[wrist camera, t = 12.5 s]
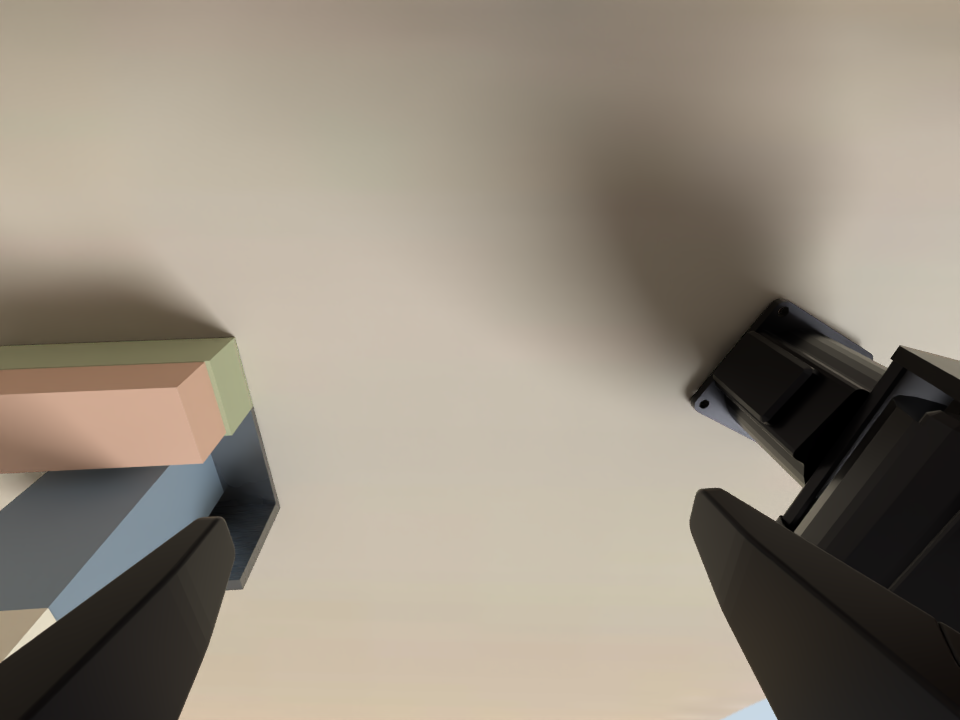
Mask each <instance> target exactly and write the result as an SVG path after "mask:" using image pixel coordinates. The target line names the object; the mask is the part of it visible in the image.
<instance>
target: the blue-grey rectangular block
mask: <svg viewBox="0 0 960 720" xmlns="http://www.w3.org/2000/svg"><path fill="white" fill-rule="evenodd" d="M223 493H224V491H223V488H222V485H221V482H220V479H219V476H218V474H217V471H216V468H215V465H214V462H213V459H212V456H211V454H210V455H209V456H208V458H207V459H206V460H205V462H204V463H203V464H184V465H163V466H143V467H123V468H103V469H83V470H63V471H48V472H47V473H45V474H44V475H43V476H42V477H41V478H39V479H38V480H37V481H36V482H35V483H33V484H32V485H31V486H30V487H29V488H27V489H26V490H25V491H24V492H22V493H21V494H20V495H19V496H18V497H16V498H15V499H14V500H13V501H12V502H10V503H9V504H8V505H7V506H6V507H4V508H3V509H2V510H1V511H0V662H2V661H3V660H5V659H6V658H7V657H9V656H10V655H11V654H13V653H14V652H16V651H17V650H18V649H20V648H21V647H22V646H24V645H25V644H26V643H28V642H29V641H31V640H32V639H33V638H35V637H36V636H37V635H39V634H40V633H41V632H43V631H44V630H46V629H47V628H48V627H50V626H51V625H52V624H54V623H55V622H57V621H58V620H59V619H61V618H62V617H63V616H65V615H66V614H67V613H69V612H70V611H72V610H73V609H74V608H76V607H77V606H78V605H80V604H81V603H82V602H84V601H85V600H87V599H88V598H89V597H91V596H92V595H93V594H95V593H96V592H97V591H99V590H100V589H102V588H103V587H104V586H106V585H107V584H108V583H110V582H111V581H112V580H114V579H115V578H117V577H118V576H119V575H121V574H122V573H123V572H125V571H126V570H127V569H129V568H130V567H132V566H133V565H134V564H136V563H137V562H138V561H140V560H141V559H142V558H144V557H145V556H147V555H148V554H149V553H151V552H152V551H153V550H155V549H156V548H158V547H159V546H160V545H162V544H163V543H164V542H166V541H167V540H168V539H170V538H171V537H173V536H174V535H175V534H177V533H178V532H179V531H181V530H182V529H183V528H185V527H186V526H188V525H189V524H190V523H192V522H193V521H194V520H196V519H198V518H201V517H208V516H209V515H210V513H211V512H212V510H213V508H214V507H215V505H216V504H217V502H218V501H219V499H220V497H221V496H222V494H223Z"/></svg>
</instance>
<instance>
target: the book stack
mask: <svg viewBox="0 0 960 720" xmlns="http://www.w3.org/2000/svg"><path fill="white" fill-rule="evenodd" d="M252 407H253V404H252V401H251V397H250V393H249V389H248V386H247V382H246V378H245V374H244V371H243V367H242V363H241V359H240V356H239V352H238V348H237V344H236V341H235V337H231V338H204V339H177V340H150V341H123V342H96V343H69V344H42V345H15V346H0V474H3V473H23V472H43V471H63V470H83V469H103V468H123V467H143V466H163V465H184V464H203V463H204V462H205V460H206V459H207V458H208V456H209V455H210V454H211V452H212V451H213V450H214V448H215V447H216V446H217V444H218V443H219V442H220V440H221V439H222V438H223V436H230V435H233V433H234V432H235V430H236V429H237V428H238V426H239V425H240V424H241V422H242V421H243V420H244V418H245V417H246V415H247V414H248V413H249V411H250V410H251V409H252Z"/></svg>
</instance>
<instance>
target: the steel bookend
mask: <svg viewBox="0 0 960 720" xmlns="http://www.w3.org/2000/svg"><path fill="white" fill-rule="evenodd" d="M211 456H212V459H213V462H214V465H215V468H216V471H217V474H218V476H219V479H220V482H221V485H222V488H223V491H224V493H223V494H222V496H221V497H220V499H219V501H218V502H217V504H216V505H215V507H214V508H213V510H212V512H211V513H210V515H209V516H208V517H216V516H219V517H222V518H224V519H225V521H226V523H227V526H228V529H229V532H230V535H231V538H232V541H233V544H234V547H235V560H234V564H233V567H232V570H231V574H230V577H229V580H228V584H227V587H226V590H240V589H243V588H244V586H245V584H246V582H247V579H248V577H249V575H250V573H251V571H252V568H253V566H254V564H255V562H256V560H257V558H258V555H259V553H260V551H261V549H262V547H263V544H264V542H265V540H266V538H267V536H268V533H269V531H270V529H271V527H272V525H273V522H274V520H275V518H276V516H277V514H278V512H279V509H280V506H279V502H278V498H277V494H276V491H275V487H274V483H273V479H272V476H271V472H270V468H269V464H268V461H267V457H266V453H265V449H264V446H263V442H262V438H261V434H260V431H259V427H258V423H257V419H256V416H255V412H254V408H253V407H252V409H251V410H250V411H249V413H248V414H247V415H246V417H245V418H244V420H243V421H242V422H241V424H240V425H239V426H238V428H237V429H236V430H235V432H234V433H233V435H230V436H223V438H222V439H221V440H220V442H219V443H218V444H217V446H216V447H215V448H214V450H213V451H212V452H211Z"/></svg>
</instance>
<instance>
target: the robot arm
mask: <svg viewBox="0 0 960 720" xmlns="http://www.w3.org/2000/svg"><path fill="white" fill-rule="evenodd" d="M782 307H783V310H782V312H780V313H779V314H778V311H779V309H780V308H782ZM890 359H892V360H893V361H892V363H891V364H890V366H889V367H888V368H886V367H885V366H883V365H881V364H879V363H877V362H875V361H873V355H872V354H871V353H869V352H868V351H866V350H865V349H863V348H861V347H860V346H858V345H857V344H855V343H854V342H852V341H851V340H849V339H847V338H846V337H844V336H843V335H841V334H840V333H838V332H837V331H835V330H833V329H832V328H830V327H829V326H827V325H826V324H824V323H823V322H821V321H819V320H818V319H816V318H815V317H813V316H812V315H810V314H808V313H807V312H805V311H804V310H802V309H801V308H799V307H798V306H796V305H794V304H793V303H791V302H789V301H787V300H785V299H777V300H775V301H773V302H772V303H771V304H770V305H769V306H768V307H767V309H766V310H765V311H764V312H763V313H762V315H761V316H760V317H759V318H758V319H757V320H756V322H755V323H754V324H753V325H752V326H751V328H750V329H749V330H748V331H747V332H746V334H745V335H744V336H743V337H742V338H741V340H740V341H739V342H738V343H737V344H736V346H735V347H734V348H733V349H732V350H731V351H730V353H729V354H728V355H727V356H726V357H725V359H724V360H723V361H722V362H721V363H720V365H719V366H718V367H717V368H716V369H715V371H714V372H713V373H712V374H711V375H710V377H709V378H708V379H707V380H706V381H705V383H704V384H703V385H702V386H701V387H700V388H699V390H698V391H697V392H696V393H695V394H694V396H693V397H692V399H691V405H692V407H693V408H694V409H695V410H696V411H697V412H699V413H701V414H703V415H705V416H707V417H709V418H711V419H713V420H715V421H716V422H718V423H720V424H722V425H724V426H726V427H728V428H730V429H732V430H734V431H736V432H738V433H740V434H742V435H744V436H746V437H747V438H749V439H751V440H753V441H755V442H757V443H758V444H759V445H760V446H761V447H762V448H763V449H764V450H765V451H766V452H767V453H768V454H769V455H770V456H771V457H772V458H773V459H774V460H775V461H776V462H777V463H778V464H779V465H780V466H781V467H782V468H783V469H784V470H785V471H786V472H787V473H788V474H789V475H790V476H791V477H792V478H793V479H794V480H795V481H797V482H798V483H799V484H800V485H801V486H802V487H803V488H802V490H801V491H800V493H799V494H798V496H797V497H796V498H795V500H794V501H793V503H792V504H791V505H790V507H789V508H788V510H787V511H786V513H785V514H784V515H783V516H782V515H780V516H779V518H778V519H777V520H776V521H774V520H773V519H771V518H769V517H768V516H766V515H764V514H763V513H761V512H759V511H758V510H756V509H754V508H753V507H751V506H750V505H748V504H746V503H745V502H743V501H741V500H740V499H738V498H736V497H735V496H733V495H731V494H730V493H728V492H726V491H725V490H723V489H721V488H705V489H700V490H698V491H697V493H696V496H695V500H694V504H693V508H692V512H691V516H690V530H691V534H692V536H693V539H694V541H695V544H696V546H697V549H698V552H699V554H700V557H701V559H702V562H703V564H704V567H705V569H706V572H707V574H708V577H709V580H710V582H711V585H712V587H713V590H714V592H715V595H716V597H717V600H718V602H719V604H720V607H721V609H722V611H723V613H724V615H725V617H726V619H727V622H728V624H729V626H730V627H731V629H732V631H733V633H734V635H735V637H736V639H737V641H738V643H739V645H740V647H741V649H742V651H743V653H744V655H745V657H746V659H747V661H748V663H749V665H750V667H751V669H752V670H753V672H754V674H755V676H756V678H757V680H758V682H759V684H760V686H761V688H762V690H763V692H764V694H765V696H766V698H767V700H768V702H769V704H770V706H771V707H772V710H773V711H774V714H775V715H776V717H777V719H778V720H960V361H958V360H954V359H951V358H947V357H943V356H939V355H935V354H932V353H928V352H924V351H920V350H916V349H913V348H909V347H905V346H901V345H900V346H899V347H898V348H897V350H896V351H895V353H894V354H893V356H892V357H891V358H890ZM703 400H705V402H704V403H703V404H700V402H701V401H703ZM699 404H700V405H699ZM234 560H235V547H234V544H233V541H232V538H231V535H230V532H229V529H228V526H227V523H226V521H225V519H224V518H222V517H219V516H216V517H201V518H198V519H196V520H194V521H193V522H192V523H190V524H189V525H188V526H186V527H185V528H183V529H182V530H181V531H179V532H178V533H177V534H175V535H174V536H173V537H171V538H170V539H168V540H167V541H166V542H164V543H163V544H162V545H160V546H159V547H158V548H156V549H155V550H153V551H152V552H151V553H149V554H148V555H147V556H145V557H144V558H142V559H141V560H140V561H138V562H137V563H136V564H134V565H133V566H132V567H130V568H129V569H127V570H126V571H125V572H123V573H122V574H121V575H119V576H118V577H117V578H115V579H114V580H112V581H111V582H110V583H108V584H107V585H106V586H104V587H103V588H102V589H100V590H99V591H97V592H96V593H95V594H93V595H92V596H91V597H89V598H88V599H87V600H85V601H84V602H82V603H81V604H80V605H78V606H77V607H76V608H74V609H73V610H72V611H70V612H69V613H67V614H66V615H65V616H63V617H62V618H61V619H59V620H58V621H57V622H55V623H54V624H52V625H51V626H50V627H48V628H47V629H46V630H44V631H43V632H41V633H40V634H39V635H37V636H36V637H35V638H33V639H32V640H31V641H29V642H28V643H26V644H25V645H24V646H22V647H21V648H20V649H18V650H17V651H16V652H14V653H13V654H11V655H10V656H9V657H7V658H6V659H5V660H3V661H2V662H0V720H178V719H179V716H180V714H181V711H182V709H183V707H184V704H185V702H186V699H187V697H188V694H189V692H190V690H191V687H192V685H193V682H194V680H195V678H196V675H197V673H198V670H199V668H200V665H201V663H202V661H203V658H204V655H205V653H206V650H207V648H208V645H209V642H210V639H211V636H212V633H213V630H214V627H215V623H216V620H217V617H218V613H219V610H220V607H221V603H222V600H223V597H224V593H225V590H226V587H227V584H228V580H229V577H230V574H231V570H232V567H233V564H234Z"/></svg>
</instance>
